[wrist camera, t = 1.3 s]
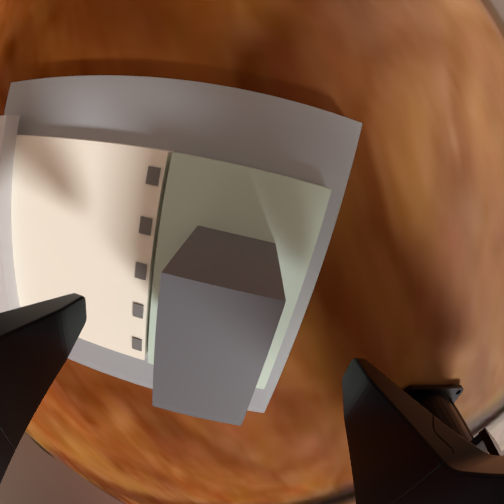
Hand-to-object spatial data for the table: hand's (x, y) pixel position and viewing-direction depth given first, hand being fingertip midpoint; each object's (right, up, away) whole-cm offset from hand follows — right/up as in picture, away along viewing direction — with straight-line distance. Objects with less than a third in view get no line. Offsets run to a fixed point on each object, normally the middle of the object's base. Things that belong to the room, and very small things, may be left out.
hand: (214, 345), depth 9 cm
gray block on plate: (0, +1, +4) cm, 4 cm away
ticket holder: (-5, +3, +5) cm, 8 cm away
